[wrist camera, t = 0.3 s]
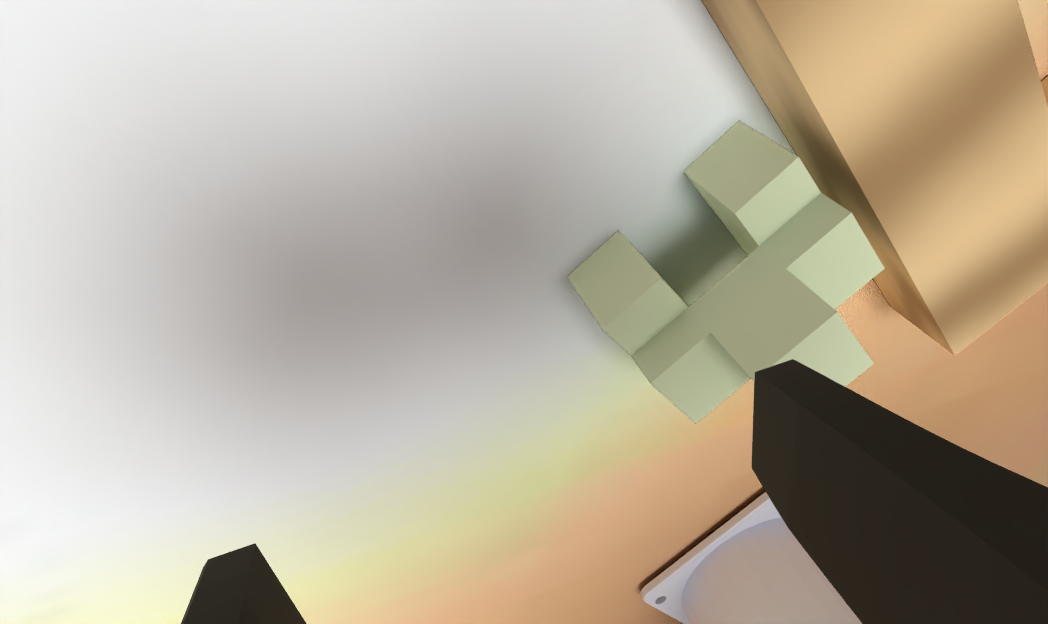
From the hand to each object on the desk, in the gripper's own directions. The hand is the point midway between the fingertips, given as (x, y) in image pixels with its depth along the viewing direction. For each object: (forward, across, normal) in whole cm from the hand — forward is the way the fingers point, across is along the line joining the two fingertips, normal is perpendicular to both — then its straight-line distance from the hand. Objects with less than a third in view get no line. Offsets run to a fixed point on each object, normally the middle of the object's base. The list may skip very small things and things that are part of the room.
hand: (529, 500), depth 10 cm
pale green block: (+10, -8, +4) cm, 13 cm away
